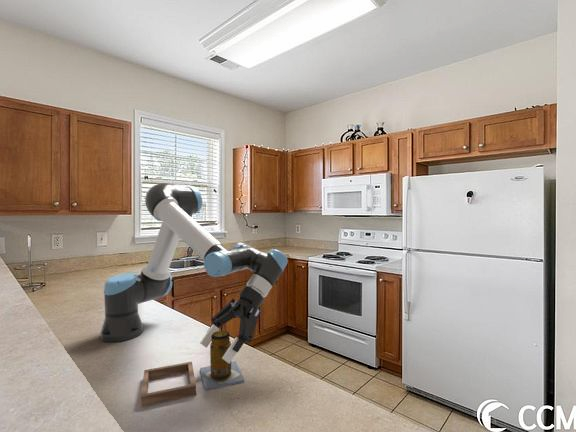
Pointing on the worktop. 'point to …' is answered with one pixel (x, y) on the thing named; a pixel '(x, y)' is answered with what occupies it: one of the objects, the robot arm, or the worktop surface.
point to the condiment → (220, 358)
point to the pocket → (168, 393)
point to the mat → (213, 384)
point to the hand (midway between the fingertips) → (213, 352)
